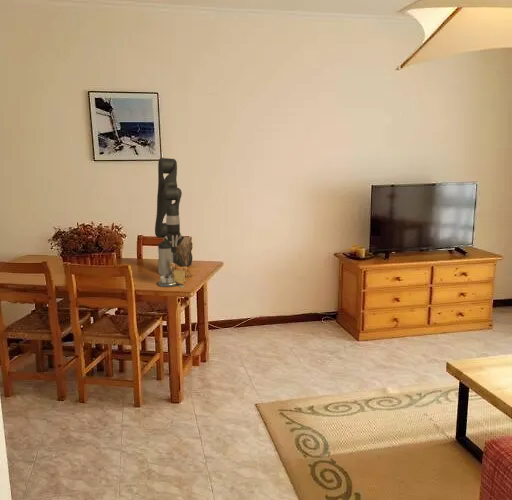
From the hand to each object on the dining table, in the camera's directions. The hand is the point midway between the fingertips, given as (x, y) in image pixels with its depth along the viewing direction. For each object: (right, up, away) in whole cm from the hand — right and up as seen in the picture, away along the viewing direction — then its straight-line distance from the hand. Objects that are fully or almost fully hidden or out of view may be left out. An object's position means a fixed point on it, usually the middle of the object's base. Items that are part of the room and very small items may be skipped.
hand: (173, 252), depth 283 cm
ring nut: (-3, -17, +11) cm, 21 cm away
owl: (-4, -10, +60) cm, 61 cm away
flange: (-5, -19, +13) cm, 24 cm away
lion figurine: (-1, -16, +31) cm, 35 cm away
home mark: (+3, -20, +9) cm, 22 cm away
